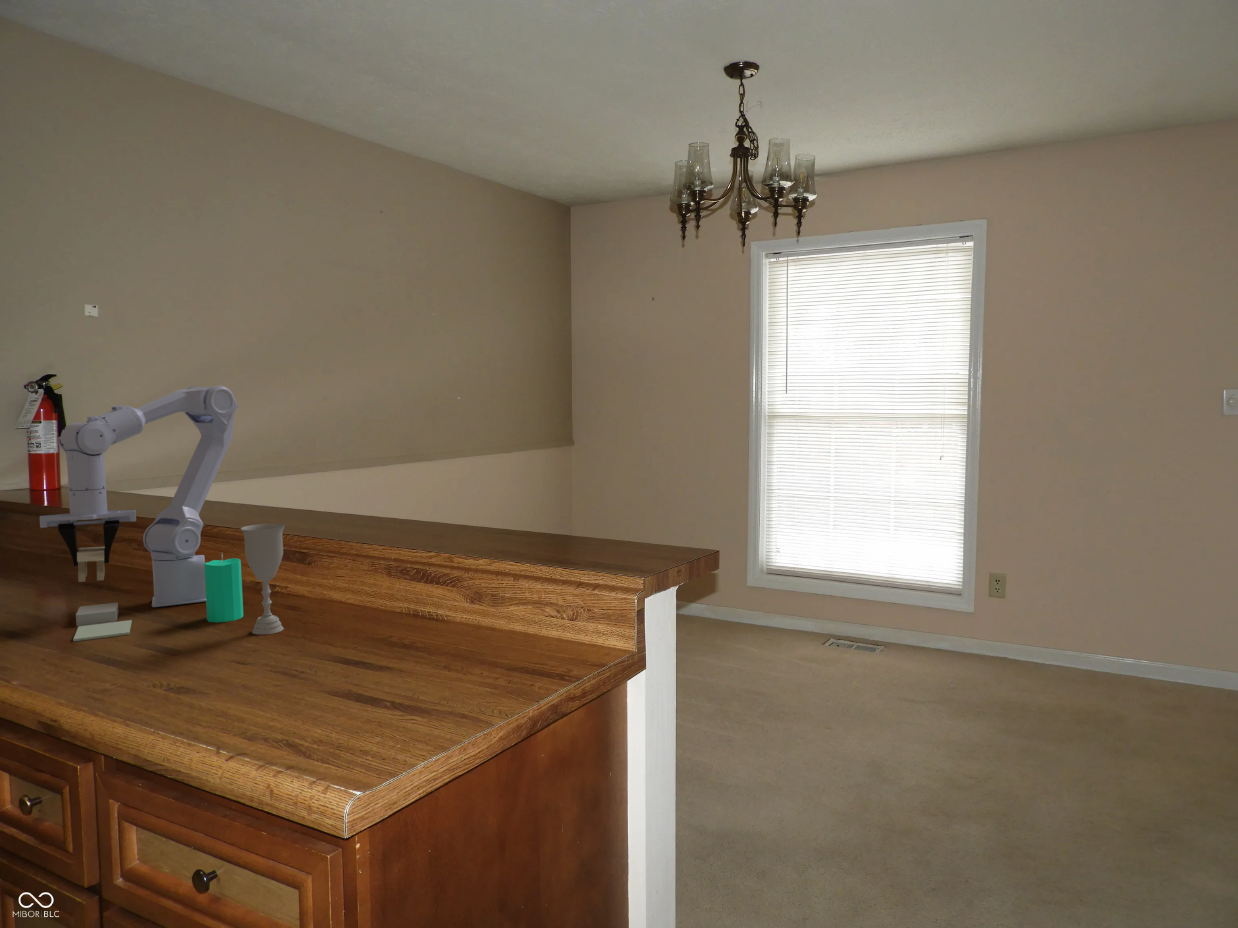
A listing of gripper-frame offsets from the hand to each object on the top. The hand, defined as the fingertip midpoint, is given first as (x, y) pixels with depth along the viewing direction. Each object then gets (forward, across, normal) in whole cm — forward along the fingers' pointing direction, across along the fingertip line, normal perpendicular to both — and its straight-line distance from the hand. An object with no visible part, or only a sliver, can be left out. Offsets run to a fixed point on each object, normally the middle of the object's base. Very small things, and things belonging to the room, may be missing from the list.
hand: (91, 563), depth 150 cm
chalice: (+11, +26, -24) cm, 37 cm away
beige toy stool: (+3, 0, 0) cm, 3 cm away
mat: (+10, +2, -10) cm, 14 cm away
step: (+10, 0, 0) cm, 10 cm away
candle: (+11, +21, -11) cm, 26 cm away
